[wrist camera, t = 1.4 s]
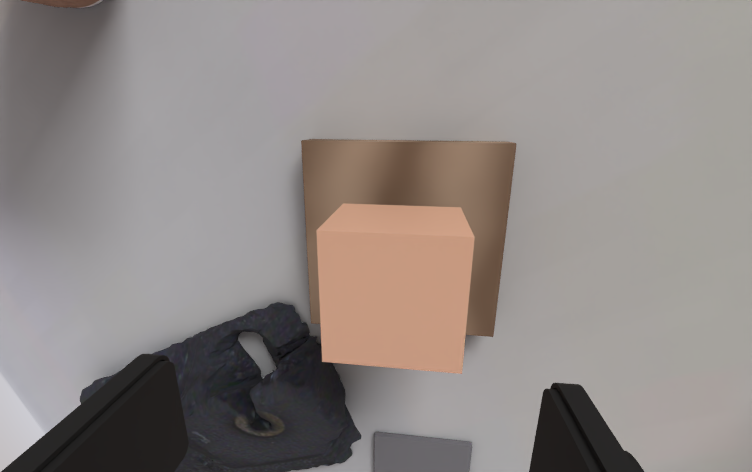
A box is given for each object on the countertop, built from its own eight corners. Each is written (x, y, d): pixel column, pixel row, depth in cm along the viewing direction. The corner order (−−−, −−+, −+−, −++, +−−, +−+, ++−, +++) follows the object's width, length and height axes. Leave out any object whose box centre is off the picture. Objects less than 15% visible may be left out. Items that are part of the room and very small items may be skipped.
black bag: (80, 353, 31) (22, 392, 27) (307, 289, 26) (283, 322, 22) (164, 485, 35) (125, 538, 30) (376, 448, 30) (367, 505, 26)
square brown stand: (508, 141, 21) (565, 153, 13) (487, 320, 25) (521, 422, 16) (311, 139, 23) (244, 148, 14) (319, 309, 26) (269, 398, 18)
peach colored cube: (460, 207, 18) (474, 237, 13) (452, 313, 20) (461, 373, 15) (343, 203, 19) (316, 230, 14) (345, 306, 20) (322, 361, 16)
